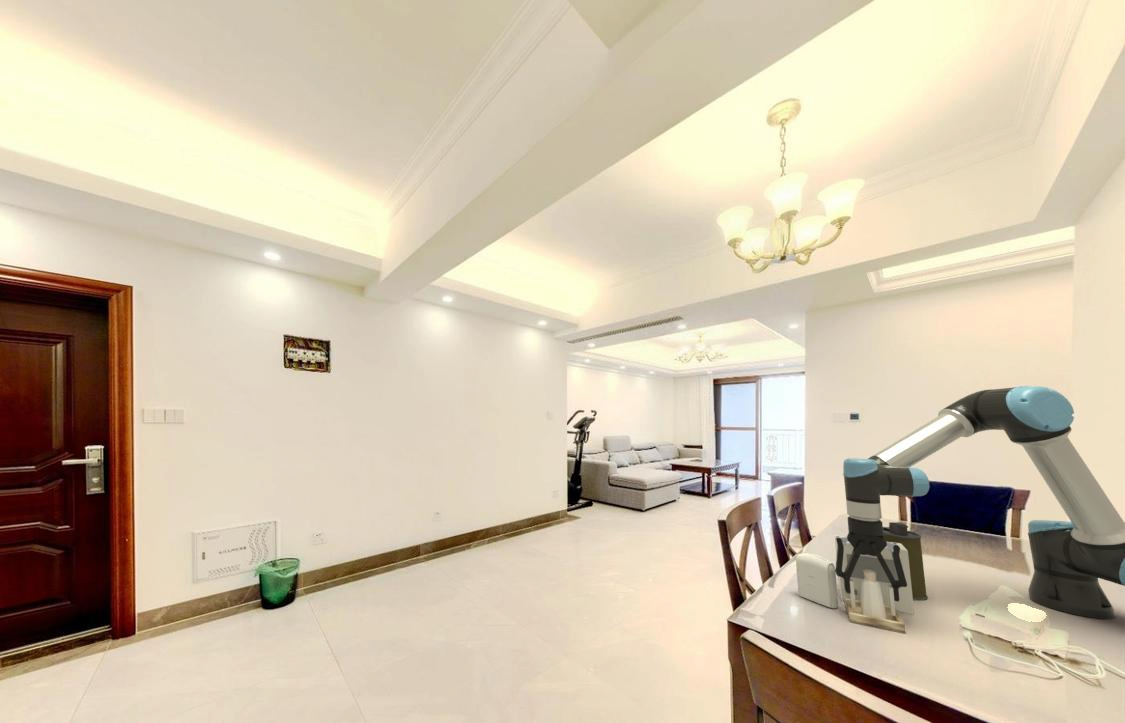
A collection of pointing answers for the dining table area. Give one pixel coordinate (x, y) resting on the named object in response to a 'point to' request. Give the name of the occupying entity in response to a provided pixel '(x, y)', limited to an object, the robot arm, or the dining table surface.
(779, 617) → the dining table surface
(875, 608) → the pepper shaker
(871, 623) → the tray
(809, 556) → the photo printer
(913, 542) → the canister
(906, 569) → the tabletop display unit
